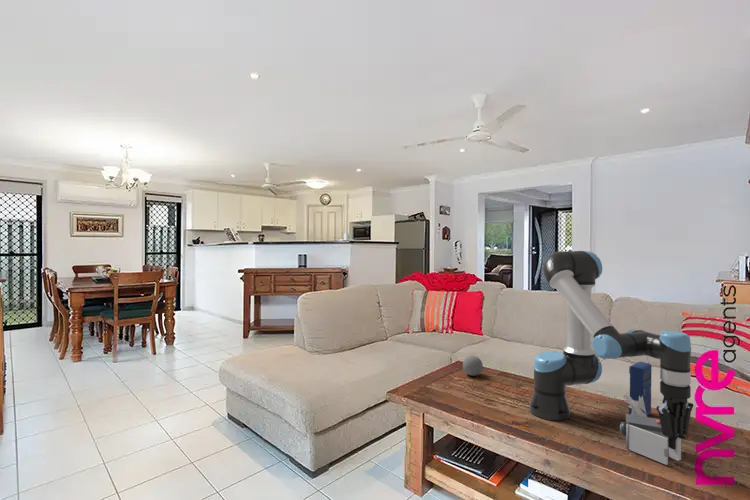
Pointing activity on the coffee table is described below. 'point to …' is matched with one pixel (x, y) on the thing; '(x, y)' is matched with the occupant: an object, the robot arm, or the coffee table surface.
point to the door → (647, 443)
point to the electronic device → (641, 384)
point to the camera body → (643, 425)
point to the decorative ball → (472, 365)
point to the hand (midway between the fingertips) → (674, 458)
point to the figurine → (636, 406)
